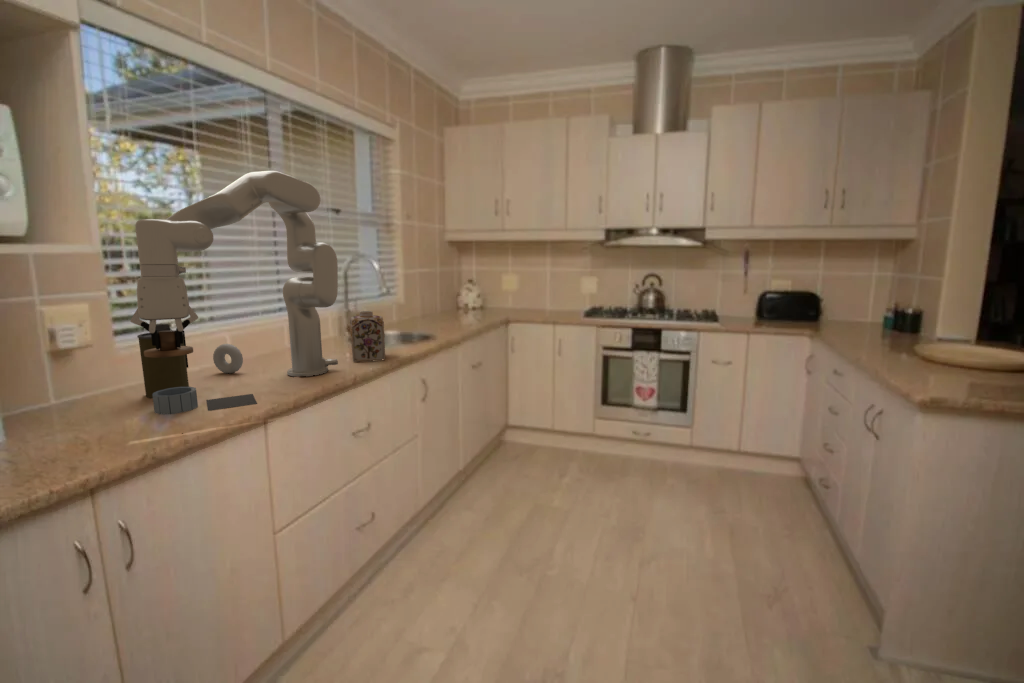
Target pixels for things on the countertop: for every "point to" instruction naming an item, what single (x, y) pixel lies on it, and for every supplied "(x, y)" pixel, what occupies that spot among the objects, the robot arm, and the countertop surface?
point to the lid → (168, 346)
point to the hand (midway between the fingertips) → (168, 346)
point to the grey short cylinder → (175, 400)
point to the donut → (221, 362)
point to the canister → (162, 366)
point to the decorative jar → (367, 337)
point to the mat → (230, 402)
